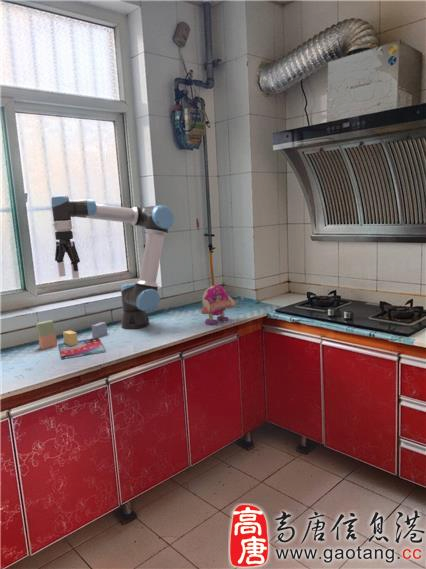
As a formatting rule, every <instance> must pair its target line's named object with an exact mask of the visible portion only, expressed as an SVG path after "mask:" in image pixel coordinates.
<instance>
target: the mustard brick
mask: <svg viewBox="0 0 426 569" xmlns="http://www.w3.org/2000/svg"><path fill="white" fill-rule="evenodd" d="M62 333H63V343H65V344H68V345H70V346H72V345H76V344H78V341H79V340H78V333H77V332H76V331H73V330H67V331H63V332H62Z"/></svg>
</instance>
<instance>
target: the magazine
mask: <svg viewBox="0 0 426 569" xmlns="http://www.w3.org/2000/svg"><path fill="white" fill-rule="evenodd" d="M57 346H58V351H59V354H60V360H62V361H63V360H64V361H65V360H68V359H69V360H70V359H75V358H81V357H87V356H92V355H98V354H103V353H107V350H106V349H105V347H104V344H103V343H102V341H101V339H100V337H98V338H96V337H92V338H88V339H82V340H78V344H76V345H72V346H70V345H68V344H65V343H64V342H62V343H57Z"/></svg>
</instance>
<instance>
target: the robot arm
mask: <svg viewBox="0 0 426 569" xmlns="http://www.w3.org/2000/svg"><path fill="white" fill-rule="evenodd" d="M50 203H51V210H52V218H53V225H52V226H53V228H54V231H55V232H54V235H55V240H56V241H55V252H54V254H55V255H54V261H55V262H56V263H57V268H58V276H59V277H60V278H62V277H65V276H66V268H65V260H64V258H65V254H67V256H68V258H69V260H70V267H71V268H70V269H71V274H72V275H71V277H72V279H79V278H80V274H79V267H78V264H79V263H81V260H80V257H79V254H78V252H77V248H76V244H75V241H72V240H73V239H74V232H73V231H72V230H73V225H72V223H73V222H72V218H80V219H81V218H82V219H93V220H94V219H95V220H102V221H109V222H110V221H112V222H119V223H128V224H129V223H130V224H131V225H132V226H137V227H143V228H145V229H144V230H145V232H146V239H145V245H144V251H143V256H142V262H141V267H140V273H139V279H138V280H137V281H135V282H133V283H126V284H122V285H121V287H120V293H121V303H122V304H121V305H122V311H123V312H122V316H121V320H120V321H121V322H120V325H121V326H120V327H121V328H122V329H126V330H135V329H141V328H146V327H148V326H149V325H150V319H149V317H148V316H149V315H148V314H147V312H151V311H154V310H155V309H156V308H157V307H158V306H159V304H160V301H161V300H160V298H161V297H160V294H159V292H158V290H159V285H158V283H157V278H158V272H159V267H160V262H161V255H162V250H163V245H164V238H165V237H166V236H167V235H168V233H169V228H171V227H172V226H173V225H174V222H175V215H174V212H173V211H172V209H171V208H170V207H168V206H165V205H160V204H158V205H151V206H150V205H149V206H142V207H139V206H133V207H132V208H130V207H124V206H123V207H122V206H115V205H107V204H100V203H96V200H94V199H88V198H86V199H85V198H84V199H83V198H82V199H70V198H69V196H68V195H54V196H52V197H51V202H50Z"/></svg>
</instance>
